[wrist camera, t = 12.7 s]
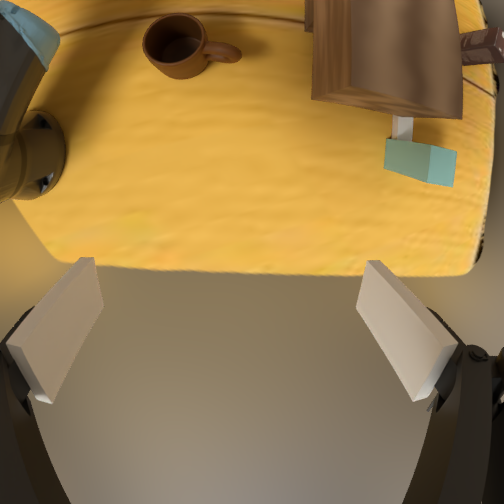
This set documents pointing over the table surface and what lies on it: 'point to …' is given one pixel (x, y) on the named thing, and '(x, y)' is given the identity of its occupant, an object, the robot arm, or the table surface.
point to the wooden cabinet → (387, 56)
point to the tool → (418, 156)
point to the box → (482, 46)
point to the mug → (184, 46)
